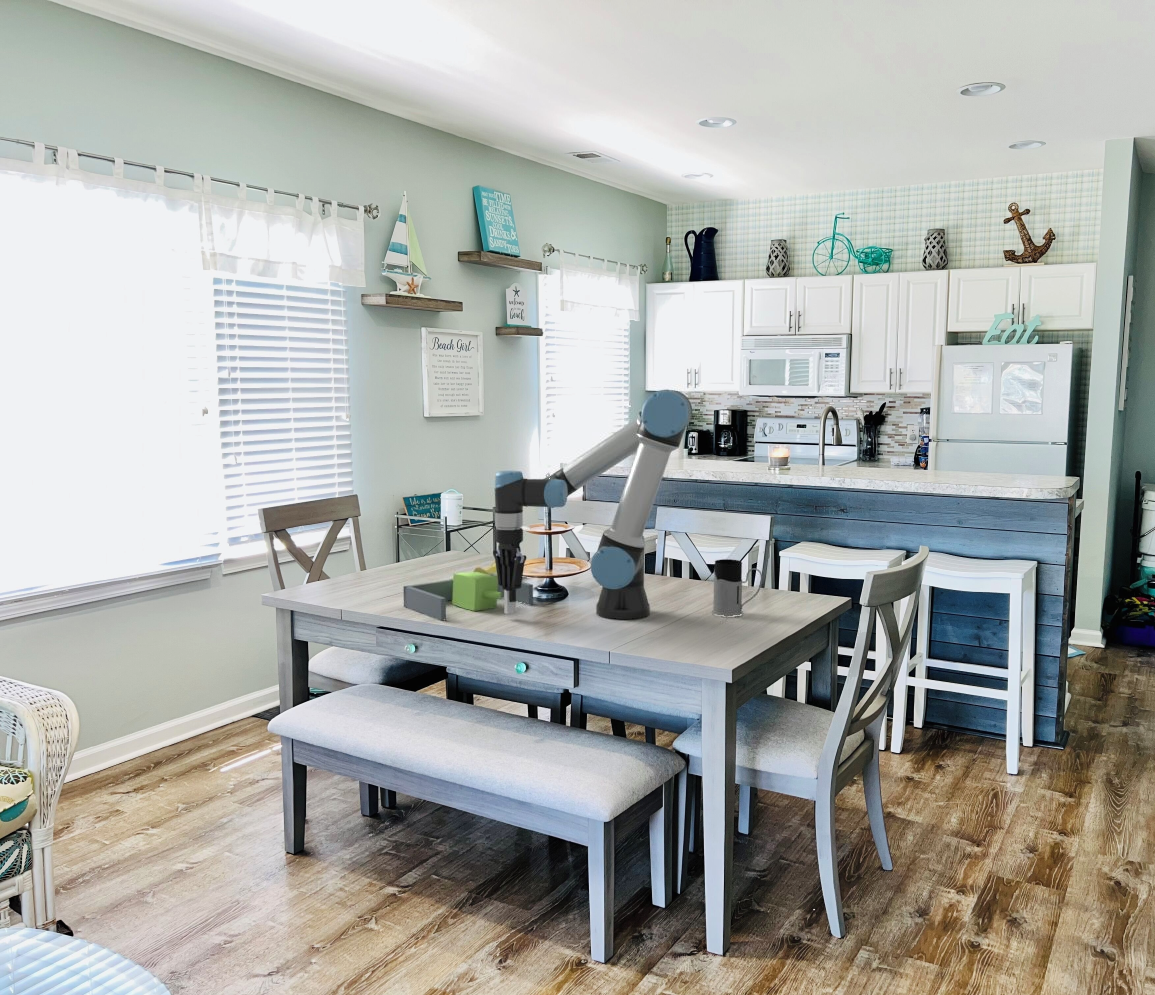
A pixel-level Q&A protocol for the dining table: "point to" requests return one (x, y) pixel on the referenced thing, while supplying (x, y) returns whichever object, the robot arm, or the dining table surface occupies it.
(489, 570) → the yellow crumpled cloth
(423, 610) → the grey low frame
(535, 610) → the dining table surface
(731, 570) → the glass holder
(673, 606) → the dining table surface
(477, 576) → the gearbox
